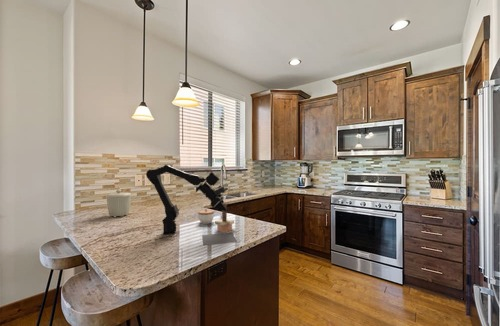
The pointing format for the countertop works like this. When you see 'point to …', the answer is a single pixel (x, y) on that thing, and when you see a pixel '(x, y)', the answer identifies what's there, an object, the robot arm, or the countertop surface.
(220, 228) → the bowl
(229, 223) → the disc with tall peg
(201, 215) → the lidded jar
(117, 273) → the countertop surface
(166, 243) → the countertop surface
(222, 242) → the mat
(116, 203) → the canister
